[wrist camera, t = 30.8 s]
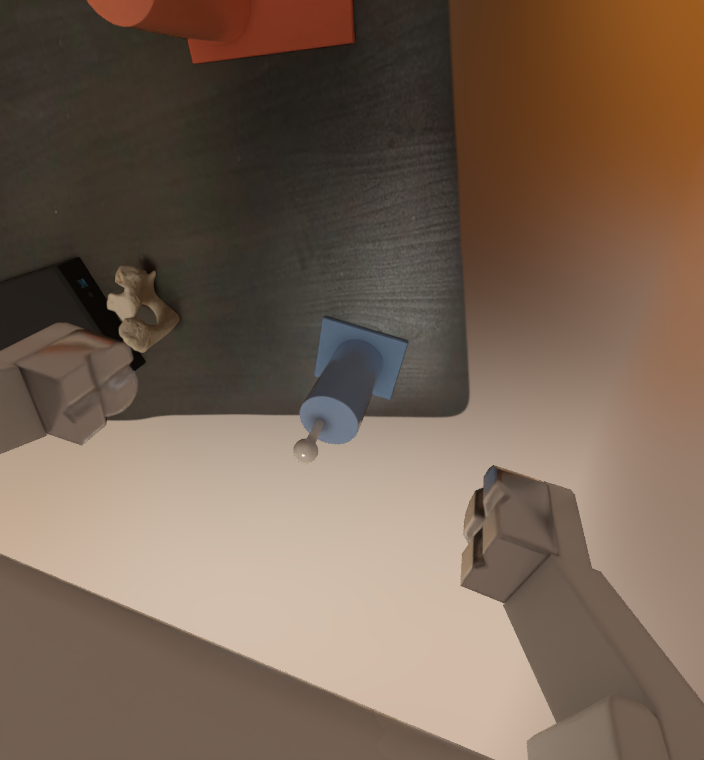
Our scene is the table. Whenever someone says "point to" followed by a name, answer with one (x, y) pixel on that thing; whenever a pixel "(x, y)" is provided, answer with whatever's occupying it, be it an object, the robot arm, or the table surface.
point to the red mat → (284, 29)
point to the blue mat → (384, 344)
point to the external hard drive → (56, 305)
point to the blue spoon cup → (339, 398)
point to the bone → (129, 303)
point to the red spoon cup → (180, 17)
